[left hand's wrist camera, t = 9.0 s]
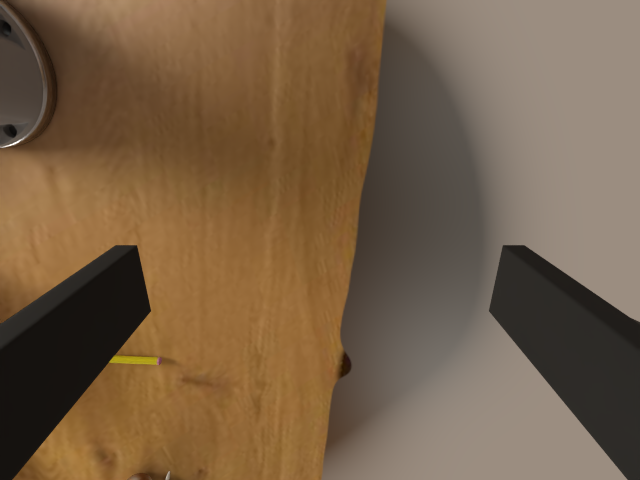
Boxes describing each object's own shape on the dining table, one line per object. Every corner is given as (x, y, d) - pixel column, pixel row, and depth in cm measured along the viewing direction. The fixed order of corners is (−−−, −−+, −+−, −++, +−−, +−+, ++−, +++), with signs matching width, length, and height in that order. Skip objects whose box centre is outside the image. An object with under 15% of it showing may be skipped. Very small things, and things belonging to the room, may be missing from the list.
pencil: (161, 355, 48) (158, 360, 48) (162, 361, 49) (159, 366, 48) (43, 350, 48) (38, 355, 47) (45, 356, 48) (39, 361, 48)
